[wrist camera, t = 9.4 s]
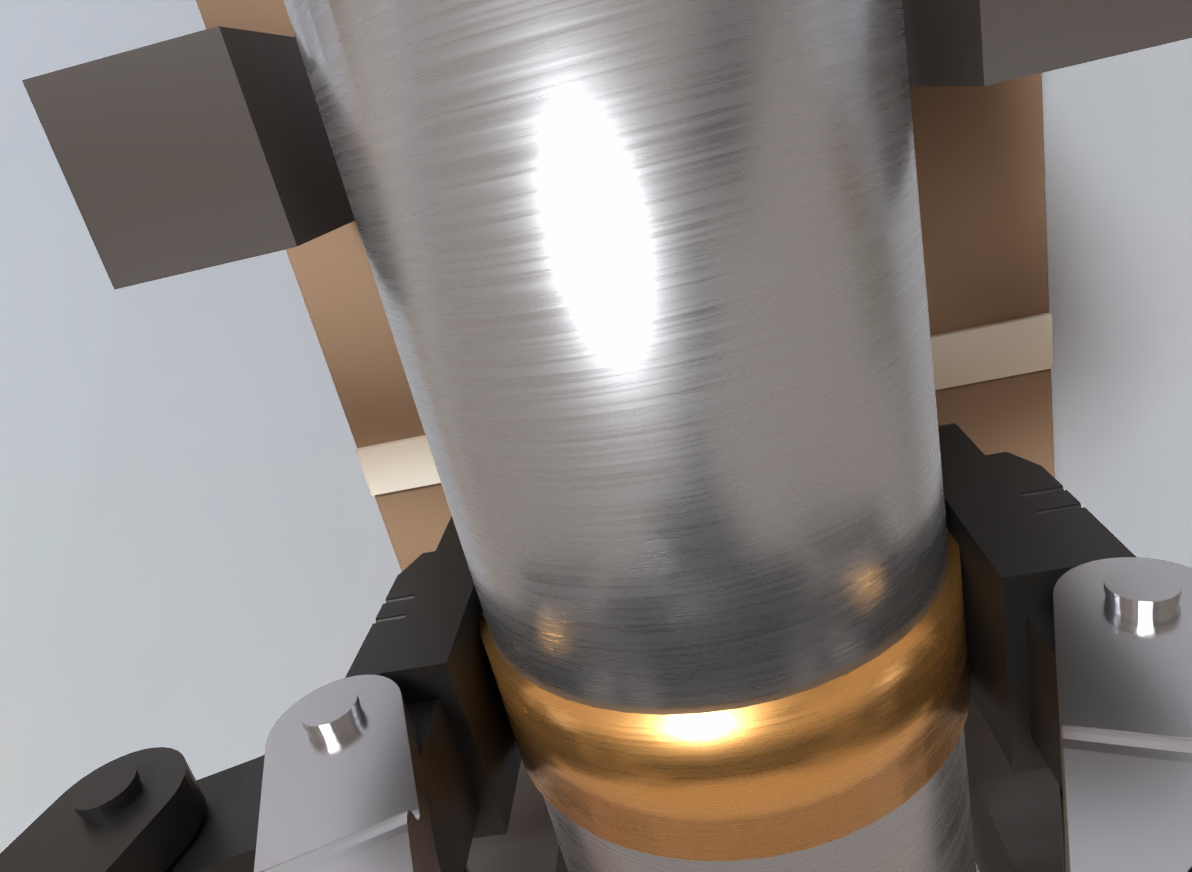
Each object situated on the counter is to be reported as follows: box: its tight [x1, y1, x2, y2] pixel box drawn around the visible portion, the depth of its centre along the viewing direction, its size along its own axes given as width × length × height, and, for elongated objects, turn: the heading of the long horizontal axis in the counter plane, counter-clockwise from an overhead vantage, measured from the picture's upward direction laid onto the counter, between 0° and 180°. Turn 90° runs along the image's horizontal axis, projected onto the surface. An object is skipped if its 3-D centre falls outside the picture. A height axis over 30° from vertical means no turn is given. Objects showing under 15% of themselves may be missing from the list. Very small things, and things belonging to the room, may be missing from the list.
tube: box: [283, 0, 976, 872], centre depth 10 cm, size 20×5×5 cm, turn 13°
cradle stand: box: [22, 0, 1192, 872], centre depth 13 cm, size 20×13×8 cm, turn 13°
